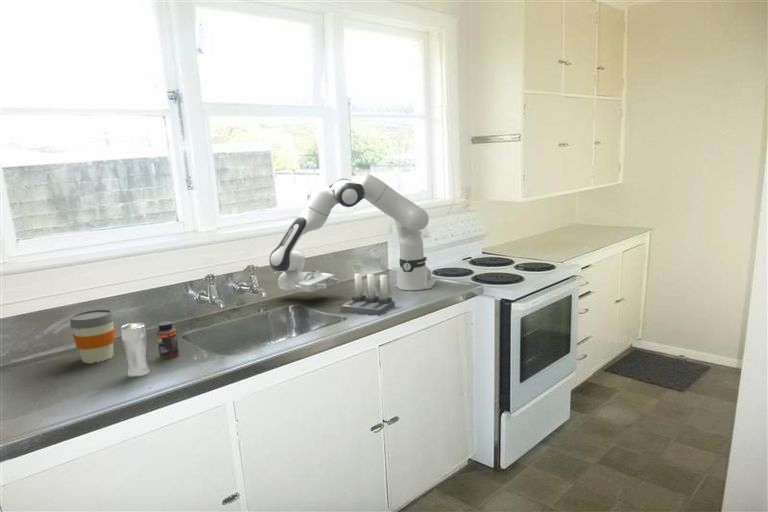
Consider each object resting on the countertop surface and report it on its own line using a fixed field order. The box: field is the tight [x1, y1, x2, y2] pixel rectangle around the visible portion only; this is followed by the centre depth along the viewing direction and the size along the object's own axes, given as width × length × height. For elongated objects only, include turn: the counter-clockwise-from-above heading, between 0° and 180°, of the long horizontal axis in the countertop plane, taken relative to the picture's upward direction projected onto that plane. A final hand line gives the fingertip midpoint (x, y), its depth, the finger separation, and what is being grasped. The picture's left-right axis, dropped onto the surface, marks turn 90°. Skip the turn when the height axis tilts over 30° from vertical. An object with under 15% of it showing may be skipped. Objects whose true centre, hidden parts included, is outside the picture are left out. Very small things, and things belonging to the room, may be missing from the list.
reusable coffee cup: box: [69, 308, 115, 364], centre depth 171 cm, size 13×13×15 cm
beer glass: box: [120, 322, 151, 378], centre depth 156 cm, size 7×7×15 cm
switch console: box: [339, 273, 396, 317], centre depth 214 cm, size 14×18×14 cm
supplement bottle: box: [156, 320, 180, 360], centre depth 170 cm, size 6×6×11 cm
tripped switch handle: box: [351, 272, 367, 301], centre depth 220 cm, size 5×4×11 cm
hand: (332, 283), depth 226 cm, fingers open, 8 cm apart
